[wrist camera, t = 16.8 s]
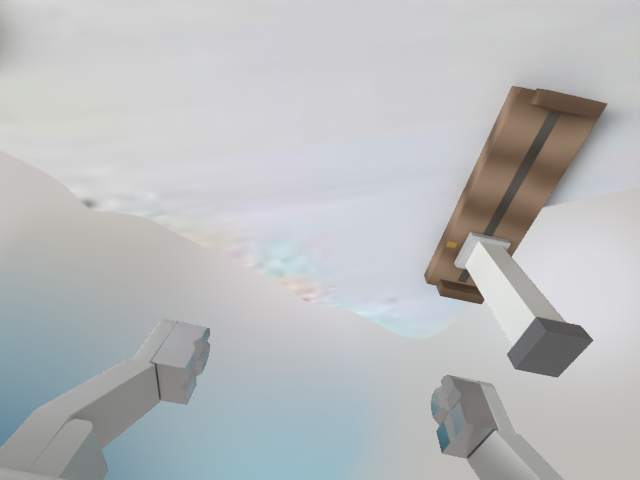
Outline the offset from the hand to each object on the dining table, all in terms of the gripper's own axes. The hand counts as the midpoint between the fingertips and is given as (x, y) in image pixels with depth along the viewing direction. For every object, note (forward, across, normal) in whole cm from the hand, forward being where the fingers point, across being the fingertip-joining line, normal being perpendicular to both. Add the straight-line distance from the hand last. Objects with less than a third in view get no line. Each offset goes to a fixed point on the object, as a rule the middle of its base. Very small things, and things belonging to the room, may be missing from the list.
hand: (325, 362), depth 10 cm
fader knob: (+29, -21, +9) cm, 37 cm away
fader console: (+31, -21, +3) cm, 38 cm away
